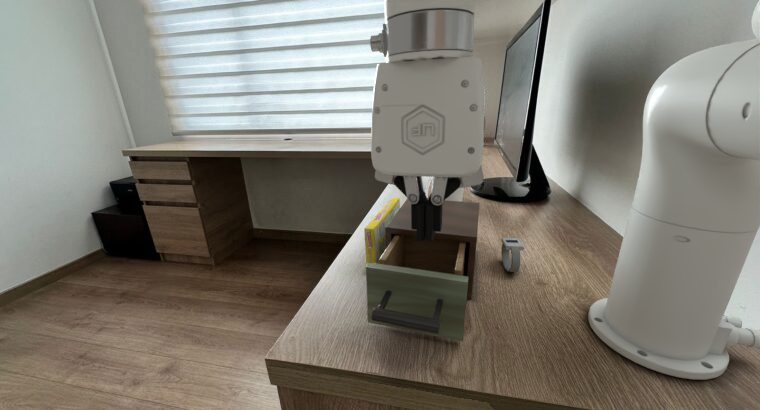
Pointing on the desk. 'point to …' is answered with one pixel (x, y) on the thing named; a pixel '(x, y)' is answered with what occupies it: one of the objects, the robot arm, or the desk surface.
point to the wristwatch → (515, 249)
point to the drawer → (419, 287)
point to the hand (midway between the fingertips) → (426, 235)
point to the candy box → (379, 231)
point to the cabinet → (445, 229)
